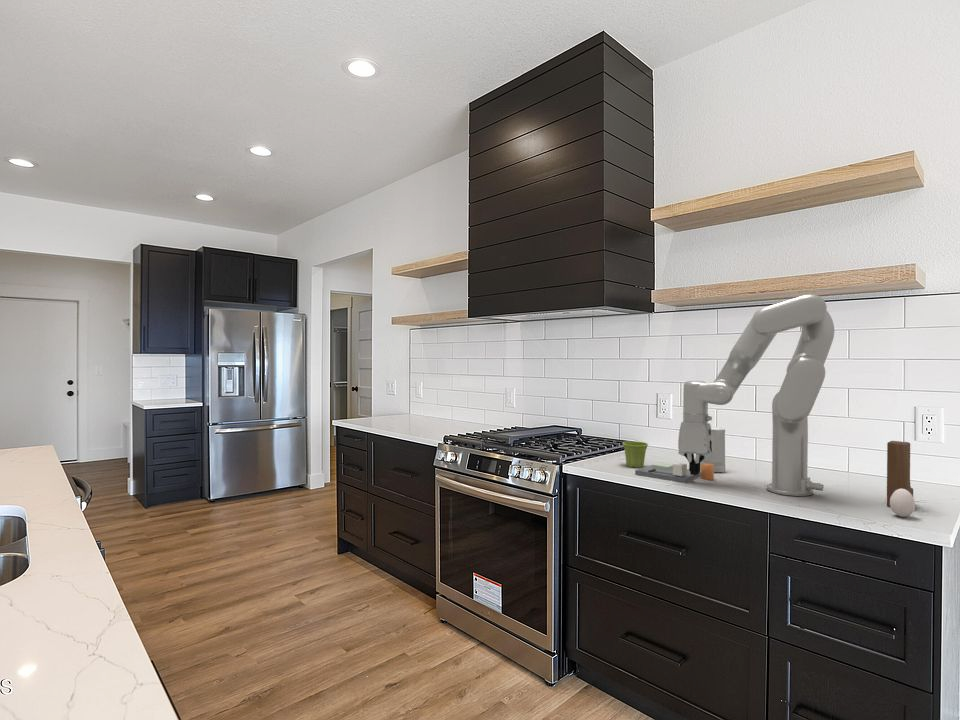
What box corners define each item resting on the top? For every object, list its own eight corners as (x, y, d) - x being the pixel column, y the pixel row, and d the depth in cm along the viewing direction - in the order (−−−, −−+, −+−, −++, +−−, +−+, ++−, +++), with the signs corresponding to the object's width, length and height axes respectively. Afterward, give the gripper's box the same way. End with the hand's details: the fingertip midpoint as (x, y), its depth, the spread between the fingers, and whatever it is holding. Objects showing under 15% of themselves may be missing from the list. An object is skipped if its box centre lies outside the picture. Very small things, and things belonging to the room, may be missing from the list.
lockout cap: (715, 479, 190) (715, 464, 190) (710, 481, 187) (711, 466, 187) (703, 477, 193) (703, 462, 193) (699, 479, 190) (699, 464, 190)
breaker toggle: (686, 474, 189) (686, 463, 189) (681, 476, 186) (681, 465, 186) (678, 472, 191) (678, 462, 191) (672, 474, 188) (673, 464, 188)
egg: (891, 518, 146) (891, 489, 145) (888, 512, 150) (888, 485, 150) (916, 521, 143) (916, 492, 143) (913, 515, 148) (913, 487, 147)
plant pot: (653, 467, 208) (653, 444, 208) (632, 469, 205) (632, 446, 205) (637, 463, 217) (637, 440, 217) (617, 465, 214) (617, 442, 213)
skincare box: (720, 469, 205) (720, 426, 205) (726, 473, 199) (726, 429, 199) (696, 469, 206) (696, 426, 206) (701, 472, 200) (701, 429, 199)
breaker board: (702, 475, 195) (702, 469, 194) (685, 482, 184) (685, 476, 184) (653, 468, 207) (653, 462, 207) (635, 474, 197) (635, 468, 197)
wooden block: (894, 500, 162) (894, 438, 162) (913, 504, 159) (914, 440, 158) (886, 506, 156) (886, 442, 156) (906, 510, 153) (907, 444, 152)
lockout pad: (675, 467, 202) (675, 464, 202) (667, 469, 197) (667, 467, 197) (659, 465, 206) (659, 462, 206) (651, 467, 202) (651, 464, 202)
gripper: (722, 419, 182) (722, 476, 182) (678, 415, 192) (677, 469, 193) (713, 421, 177) (713, 480, 177) (668, 417, 187) (667, 472, 187)
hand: (694, 474), depth 185 cm, fingers closed
